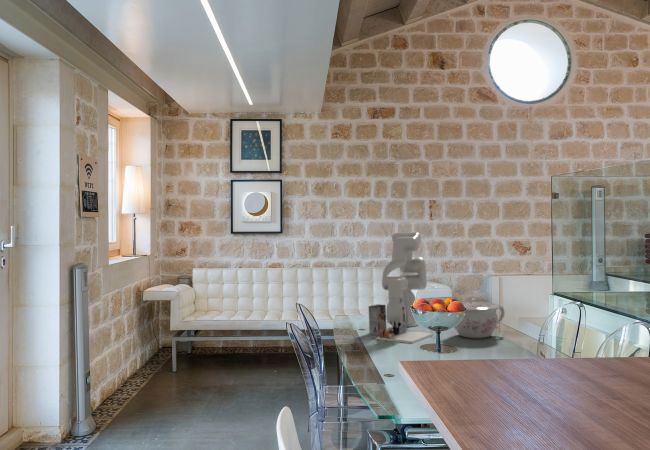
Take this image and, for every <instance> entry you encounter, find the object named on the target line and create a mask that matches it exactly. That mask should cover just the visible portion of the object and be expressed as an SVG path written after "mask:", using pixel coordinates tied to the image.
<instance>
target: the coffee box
mask: <svg viewBox="0 0 650 450" xmlns="http://www.w3.org/2000/svg"><path fill="white" fill-rule="evenodd" d="M386 315H387V305H386V304H373V305H370V306H368V326H369V327H368V329H369V331H368V332H369V334H370V335H377V334H378V335H377V336H379V330H380V329H387V316H386Z"/></svg>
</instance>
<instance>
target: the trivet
mask: <svg viewBox="0 0 650 450" xmlns="http://www.w3.org/2000/svg"><path fill="white" fill-rule="evenodd" d="M430 337H434V334H433V333H430V332H429V333H428V332H421V331H412V330H407V332H404V333H401V334H399V335H396V336H393V337H391V338H385V337H384V338H382V337H379V336H376V340H377V339H379V341H385V340H387V342H394V341H395V342H396V343H402V342H403V344H416V343H417V342H420V341H423V340H425V339H428V338H430Z"/></svg>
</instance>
